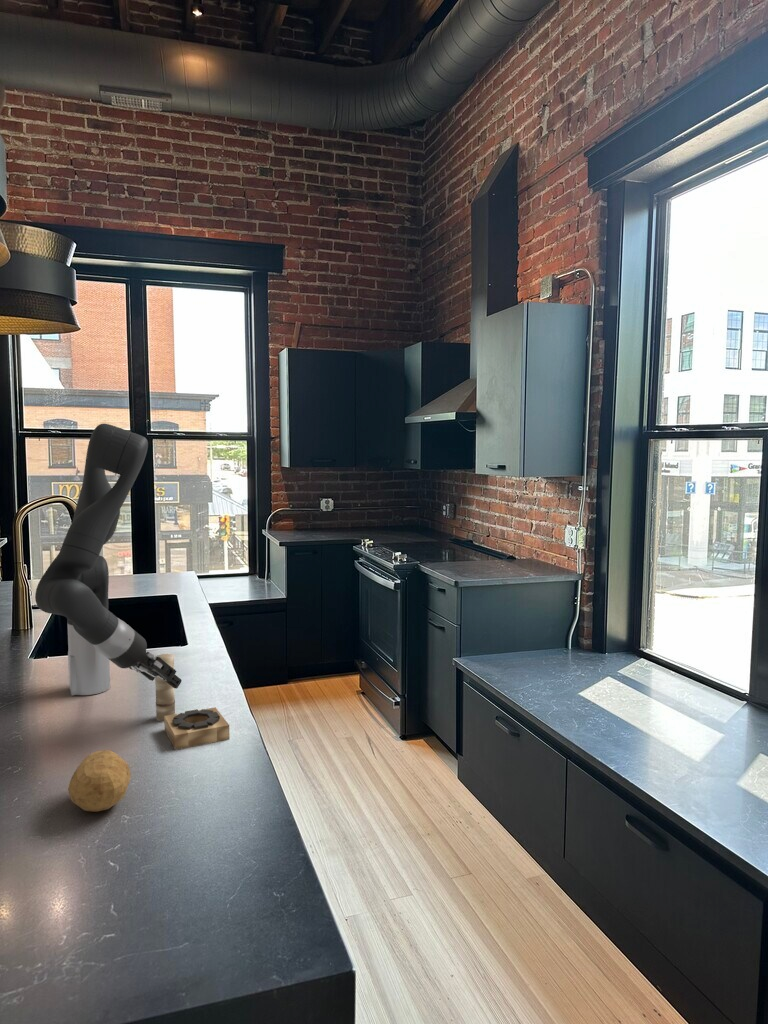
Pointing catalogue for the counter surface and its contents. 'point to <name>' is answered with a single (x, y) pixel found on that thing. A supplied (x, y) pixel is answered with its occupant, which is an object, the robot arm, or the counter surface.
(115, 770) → the potato
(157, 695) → the dowel
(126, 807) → the counter surface
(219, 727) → the socket
